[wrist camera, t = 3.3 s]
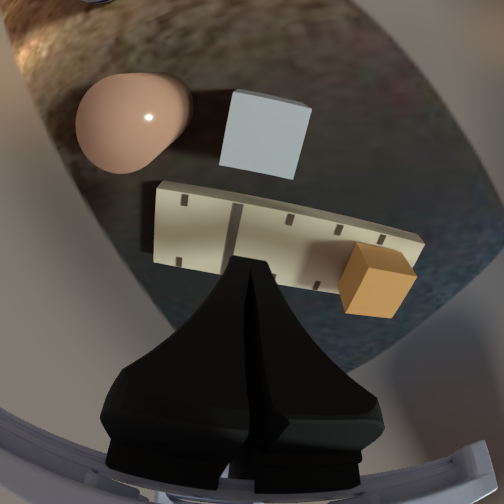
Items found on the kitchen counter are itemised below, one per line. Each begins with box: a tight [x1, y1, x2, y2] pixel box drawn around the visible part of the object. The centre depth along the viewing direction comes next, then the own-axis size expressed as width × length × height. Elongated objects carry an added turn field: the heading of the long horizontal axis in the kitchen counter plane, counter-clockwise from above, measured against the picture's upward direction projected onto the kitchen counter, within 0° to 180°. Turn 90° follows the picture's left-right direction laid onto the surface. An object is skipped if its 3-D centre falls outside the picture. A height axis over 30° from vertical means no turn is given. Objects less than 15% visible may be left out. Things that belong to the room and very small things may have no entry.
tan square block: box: [337, 242, 417, 318], centre depth 20 cm, size 4×4×3 cm
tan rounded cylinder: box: [75, 72, 194, 174], centre depth 15 cm, size 5×5×6 cm
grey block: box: [219, 89, 312, 180], centre depth 16 cm, size 4×4×4 cm
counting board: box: [154, 180, 425, 294], centre depth 22 cm, size 6×20×2 cm, turn 79°
